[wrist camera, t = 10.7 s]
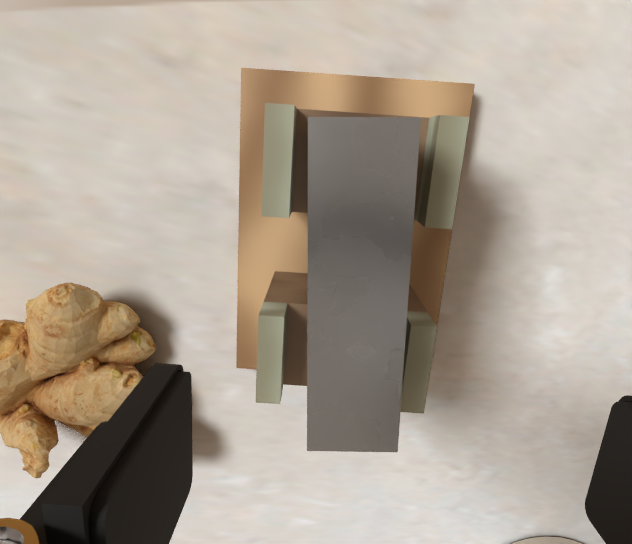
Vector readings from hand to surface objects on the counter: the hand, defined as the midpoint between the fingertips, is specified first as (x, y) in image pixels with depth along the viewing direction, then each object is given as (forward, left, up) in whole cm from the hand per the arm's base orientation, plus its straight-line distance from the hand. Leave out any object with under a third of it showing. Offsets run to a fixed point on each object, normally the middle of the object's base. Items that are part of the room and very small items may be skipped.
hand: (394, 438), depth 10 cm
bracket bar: (0, 0, -14) cm, 14 cm away
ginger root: (+19, +11, -22) cm, 31 cm away
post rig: (0, 0, -22) cm, 22 cm away
